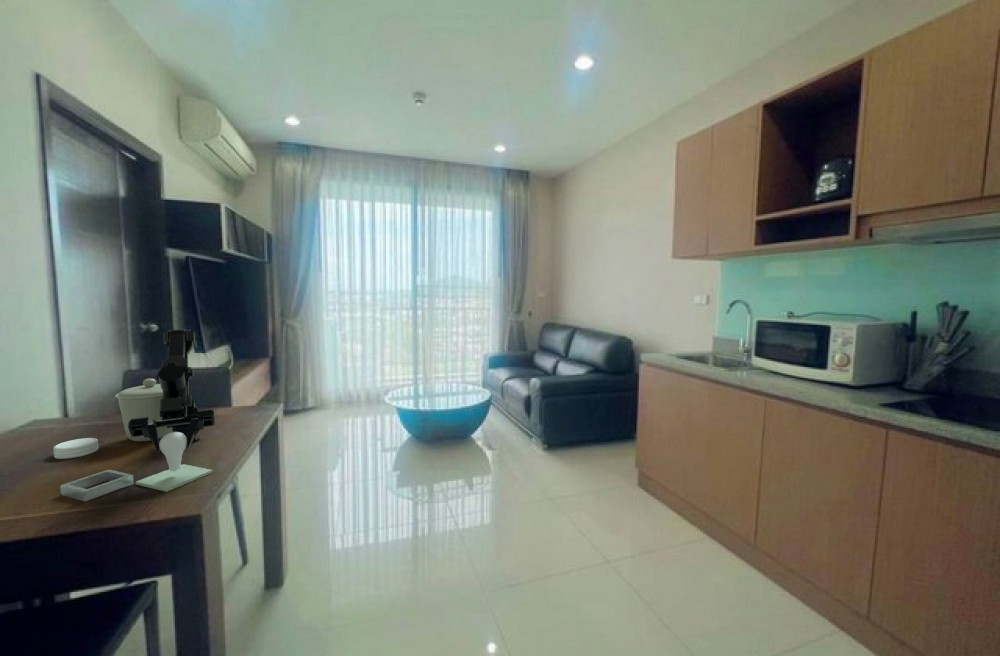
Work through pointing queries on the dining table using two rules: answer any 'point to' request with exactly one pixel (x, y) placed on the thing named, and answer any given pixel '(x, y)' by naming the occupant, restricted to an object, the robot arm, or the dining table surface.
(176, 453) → the lightbulb
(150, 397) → the canister
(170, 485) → the green mat
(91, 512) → the dining table surface
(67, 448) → the white round disc
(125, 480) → the grey square frame
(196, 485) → the dining table surface
